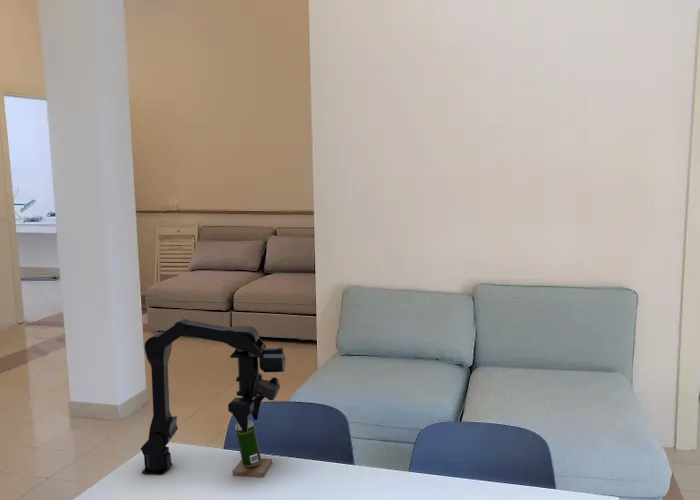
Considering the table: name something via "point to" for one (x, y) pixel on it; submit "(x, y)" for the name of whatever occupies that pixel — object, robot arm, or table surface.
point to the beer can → (248, 445)
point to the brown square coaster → (252, 469)
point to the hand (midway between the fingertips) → (250, 425)
